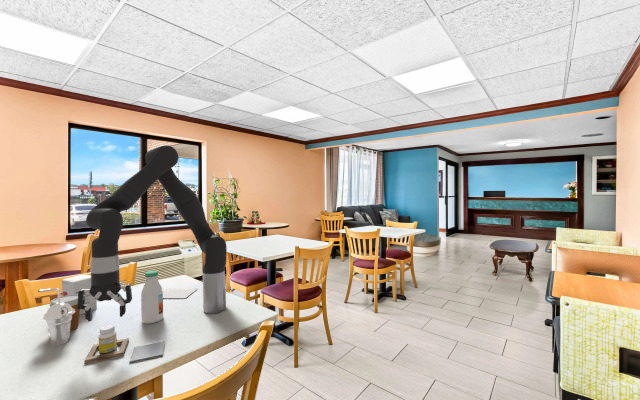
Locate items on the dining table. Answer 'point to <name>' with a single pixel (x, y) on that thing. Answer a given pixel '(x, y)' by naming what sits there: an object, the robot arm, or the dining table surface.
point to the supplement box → (78, 288)
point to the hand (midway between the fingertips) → (106, 318)
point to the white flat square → (178, 293)
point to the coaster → (147, 352)
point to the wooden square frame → (120, 353)
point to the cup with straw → (59, 320)
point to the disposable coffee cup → (74, 303)
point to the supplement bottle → (107, 339)
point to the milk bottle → (152, 299)
